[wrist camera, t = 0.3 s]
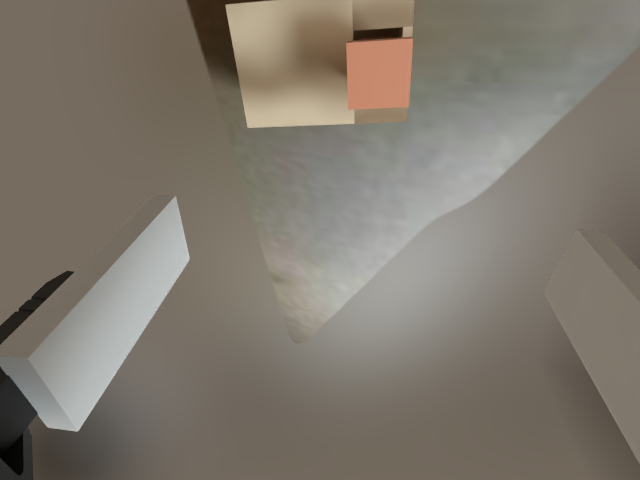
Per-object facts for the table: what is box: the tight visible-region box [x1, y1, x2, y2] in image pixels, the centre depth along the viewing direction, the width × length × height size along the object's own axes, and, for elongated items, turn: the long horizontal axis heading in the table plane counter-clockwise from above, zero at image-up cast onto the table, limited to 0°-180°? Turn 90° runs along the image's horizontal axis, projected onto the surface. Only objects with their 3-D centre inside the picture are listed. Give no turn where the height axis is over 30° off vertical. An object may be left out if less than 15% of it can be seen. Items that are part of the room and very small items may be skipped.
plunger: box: [346, 36, 413, 110], centre depth 24 cm, size 4×4×8 cm
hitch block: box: [225, 0, 414, 128], centre depth 29 cm, size 8×12×10 cm, turn 94°
